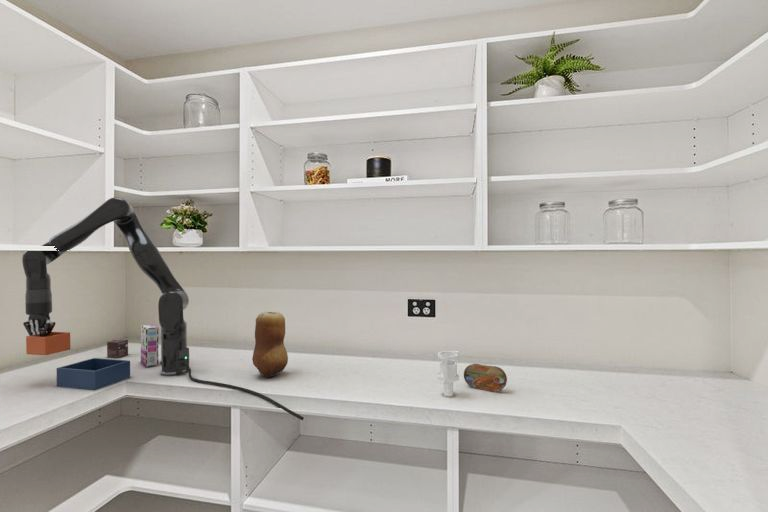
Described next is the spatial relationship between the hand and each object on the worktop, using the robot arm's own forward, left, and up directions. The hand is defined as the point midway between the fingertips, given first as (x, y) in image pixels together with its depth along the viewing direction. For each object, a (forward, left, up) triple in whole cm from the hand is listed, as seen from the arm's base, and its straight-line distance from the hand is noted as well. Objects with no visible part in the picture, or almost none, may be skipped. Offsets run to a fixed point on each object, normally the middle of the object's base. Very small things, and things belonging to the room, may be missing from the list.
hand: (39, 347), depth 150 cm
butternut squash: (-79, -28, -14) cm, 85 cm away
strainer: (-149, -23, -14) cm, 151 cm away
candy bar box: (-19, -31, -14) cm, 39 cm away
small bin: (-4, 0, -2) cm, 4 cm away
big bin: (-18, -6, -13) cm, 24 cm away
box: (+6, -38, -14) cm, 41 cm away
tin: (-161, -32, -14) cm, 165 cm away
